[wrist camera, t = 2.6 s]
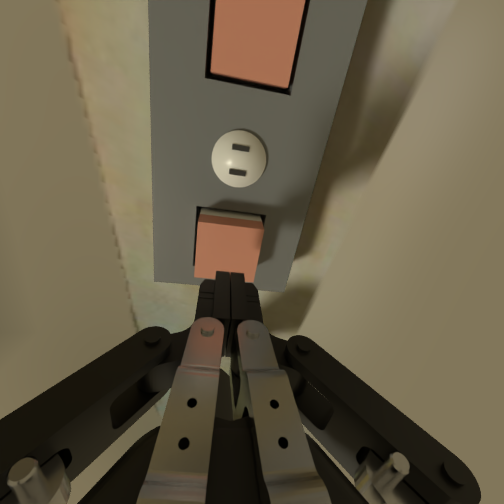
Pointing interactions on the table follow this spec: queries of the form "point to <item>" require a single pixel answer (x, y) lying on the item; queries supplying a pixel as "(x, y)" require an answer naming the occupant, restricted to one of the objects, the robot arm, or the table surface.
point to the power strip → (239, 133)
